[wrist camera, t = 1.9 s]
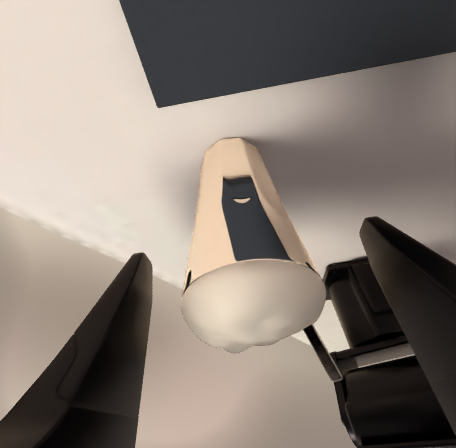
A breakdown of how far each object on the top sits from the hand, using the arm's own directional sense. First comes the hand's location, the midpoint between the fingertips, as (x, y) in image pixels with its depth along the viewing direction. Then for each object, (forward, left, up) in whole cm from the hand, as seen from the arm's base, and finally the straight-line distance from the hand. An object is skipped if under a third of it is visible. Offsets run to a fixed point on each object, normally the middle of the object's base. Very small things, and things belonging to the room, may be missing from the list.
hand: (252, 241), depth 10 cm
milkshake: (0, 0, -5) cm, 5 cm away
